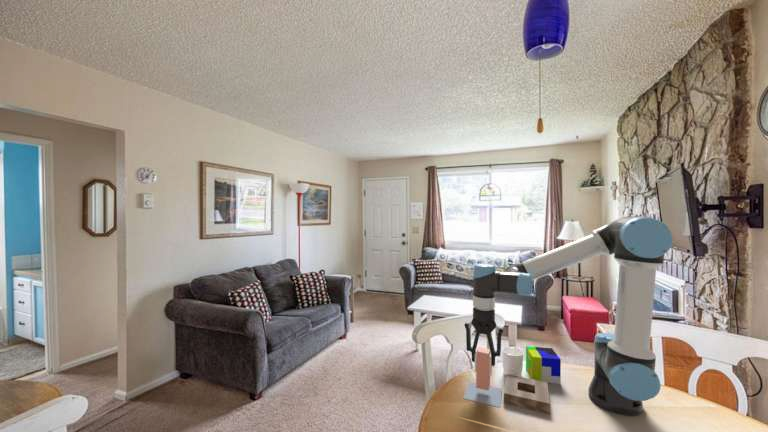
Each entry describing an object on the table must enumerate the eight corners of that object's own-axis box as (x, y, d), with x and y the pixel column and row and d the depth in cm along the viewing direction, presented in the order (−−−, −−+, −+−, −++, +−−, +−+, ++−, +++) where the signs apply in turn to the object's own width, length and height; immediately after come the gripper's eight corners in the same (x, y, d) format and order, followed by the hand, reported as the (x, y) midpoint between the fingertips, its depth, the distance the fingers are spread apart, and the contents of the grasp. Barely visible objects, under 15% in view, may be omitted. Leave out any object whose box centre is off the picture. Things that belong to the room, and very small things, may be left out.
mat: (502, 390, 114) (502, 388, 114) (499, 409, 103) (499, 407, 103) (469, 383, 119) (469, 381, 119) (463, 399, 108) (463, 398, 108)
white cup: (502, 379, 122) (502, 353, 122) (501, 369, 130) (501, 345, 130) (524, 382, 120) (524, 356, 120) (521, 372, 127) (521, 348, 127)
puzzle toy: (560, 385, 118) (560, 359, 118) (532, 382, 120) (532, 356, 120) (551, 372, 128) (551, 348, 128) (525, 369, 130) (526, 346, 130)
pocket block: (547, 393, 113) (547, 382, 113) (549, 415, 100) (550, 403, 100) (505, 384, 118) (506, 373, 118) (503, 404, 106) (503, 393, 106)
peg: (489, 384, 112) (490, 349, 112) (488, 390, 109) (488, 353, 109) (477, 382, 114) (478, 346, 114) (476, 387, 110) (476, 351, 110)
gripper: (510, 307, 111) (509, 372, 111) (461, 301, 118) (460, 362, 118) (509, 314, 104) (508, 382, 104) (457, 307, 111) (457, 371, 112)
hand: (483, 372), depth 111 cm, fingers closed on peg, 4 cm apart
